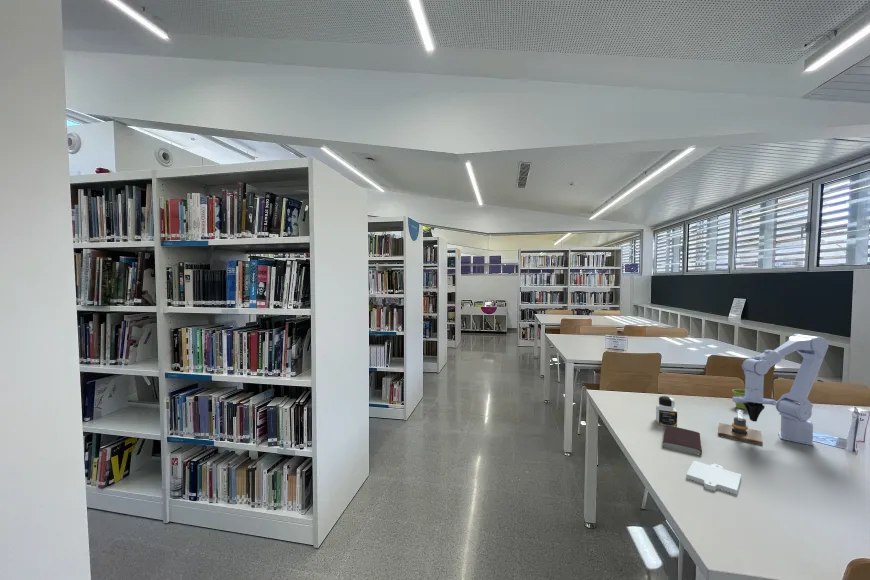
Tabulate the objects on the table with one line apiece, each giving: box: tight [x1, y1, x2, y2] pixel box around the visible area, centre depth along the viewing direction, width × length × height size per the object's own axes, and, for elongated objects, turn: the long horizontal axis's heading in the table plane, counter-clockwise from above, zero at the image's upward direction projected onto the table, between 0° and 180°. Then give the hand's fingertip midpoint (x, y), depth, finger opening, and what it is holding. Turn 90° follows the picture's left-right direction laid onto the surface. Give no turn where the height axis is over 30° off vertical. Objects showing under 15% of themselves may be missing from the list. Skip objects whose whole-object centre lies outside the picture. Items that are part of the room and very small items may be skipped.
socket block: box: [717, 413, 764, 447], centre depth 154 cm, size 14×14×8 cm
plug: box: [731, 416, 749, 435], centre depth 154 cm, size 5×5×7 cm
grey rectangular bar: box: [735, 408, 744, 421], centre depth 154 cm, size 13×2×1 cm, turn 140°
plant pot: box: [731, 388, 747, 411], centre depth 188 cm, size 9×9×9 cm
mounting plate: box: [685, 460, 742, 496], centre depth 119 cm, size 18×13×2 cm
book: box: [662, 425, 703, 456], centre depth 146 cm, size 12×19×3 cm, turn 145°
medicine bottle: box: [655, 395, 678, 427], centre depth 166 cm, size 7×7×12 cm
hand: (753, 420), depth 149 cm, fingers closed
